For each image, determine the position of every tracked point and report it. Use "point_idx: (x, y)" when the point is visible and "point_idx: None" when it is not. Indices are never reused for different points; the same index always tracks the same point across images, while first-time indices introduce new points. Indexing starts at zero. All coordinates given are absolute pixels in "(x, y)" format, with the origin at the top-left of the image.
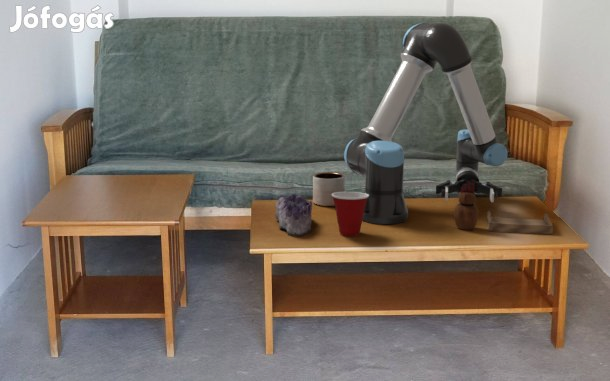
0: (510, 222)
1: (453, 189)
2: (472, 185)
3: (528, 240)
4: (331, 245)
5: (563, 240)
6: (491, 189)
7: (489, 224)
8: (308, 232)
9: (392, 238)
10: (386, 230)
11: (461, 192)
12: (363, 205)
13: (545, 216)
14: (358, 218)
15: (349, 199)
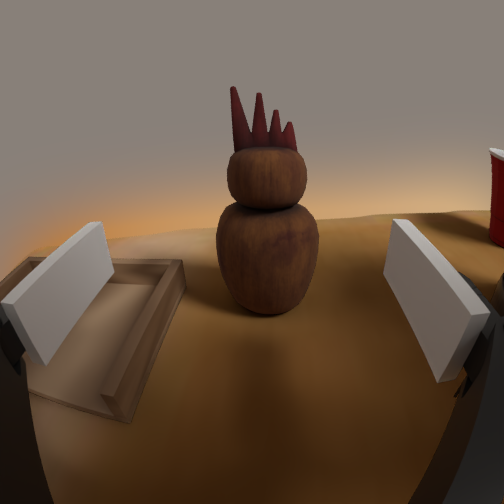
0: (68, 343)
1: (432, 477)
2: (242, 114)
3: (115, 248)
4: (479, 212)
5: (48, 255)
6: (29, 281)
7: (182, 264)
8: None
9: (430, 232)
10: (473, 260)
11: (293, 148)
12: (492, 171)
13: None
14: (491, 197)
15: (498, 152)
